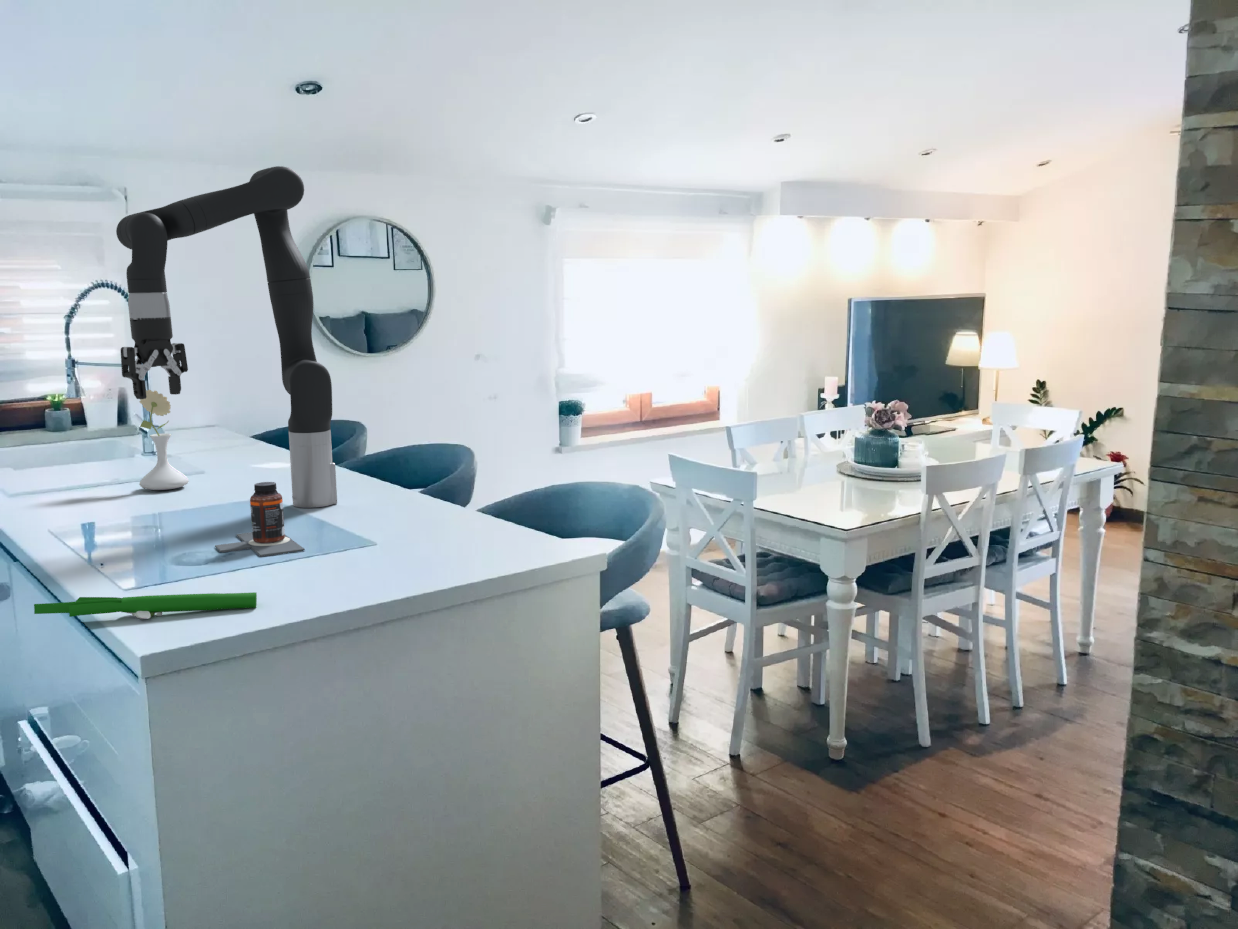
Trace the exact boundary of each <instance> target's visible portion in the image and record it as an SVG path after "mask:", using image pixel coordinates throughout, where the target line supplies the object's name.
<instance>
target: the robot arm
mask: <svg viewBox="0 0 1238 929" xmlns="http://www.w3.org/2000/svg"><path fill="white" fill-rule="evenodd" d="M304 194H305V185H304V181H303V179H302V178H301V176H300V174H298V173H297V172H296V171H295V170H294V169H293V168H290V167H287V166H284V165H283V166H282V165H281V166H279V165H278V166H276V165H275V166H271V167H267V168H263V169H260V170H258V171H255V172H254V173H253V174H252V176H251V177H250V179H249V180H248V181H247V182H245V183H242V184H238V185H236V186H232V187H228V188H224V189H220V190H219V189H218V190H216V191H210V192H206V193H201V194H198V195H194V196H190V197H187V198H184V199H181V200H178V201H174V202H172V203H170V204H167V205H165V206H164V205H163V206H161V207H158V208H153V209H149V210H145V211H141V212H137V213H136V212H135V213H133V214H129V215H127V216H126V215H125V217H123V218H121V219H120V221H119V222H118V224H117V226H116V230H115V231H116V237H117V240H118V241H119V242H120V244H122V246H124V247H125V248H127V249H129V250H131V262H130V264H128V265H127V267H126V281H127V282H126V284H127V293H128V294H127V298H128V302H127V303H128V304H127V305H128V306H127V307H128V314H129V326H130V327H129V328H130V335H131V339H132V340H133V341H134V346H122V347H121V348H120V361H121V362H120V363H121V364H120V365H121V366H120V367H121V377H123V378H125V379H126V378H127V379H129V380H131V381H132V390H133V395H134V397H135V398H136V399H137V400H140V399H146V397H147V396H146V389H147V388H146V380H145V376H146V374H147V372H149V371H150V370H151V368H155V367H160V368H162V369H163V370H165V372H166V373H167V374H168V376H167V378H168V379H167V380H168V389H169V393H170V395H180V394H181V391H182V384H181V375H182V374H183V373H187V372H188V370H189V366H188V360H187V353H186V347H185V344H184V343H181V342H173V343H171V340H172V338H174V335H173V325H172V317H171V316H172V315H171V306H170V302H169V301H170V300H169V296H168V290H167V281H166V280H167V279H166V273H165V268H166V263H167V262H166V261H167V254H168V241H171V240H173V239H182V238H187V237H190V236H193V235H196V234H200V233H202V232H205V231H209V230H212V229H214V228H216V227H219V226H222V225H224V224H228V223H230V222H233V221H235V220H237V219H240V218H244V217H247V216H249V215H250V216H251V215H253V216H254V219H255V222H256V227H257V229H258V233H259V234H258V235H259V238H260V243H261V251H262V257H263V261H264V262H263V263H264V268H265V274H266V282H267V287H268V293H269V299H270V304H271V309H272V314H273V318H274V319H273V320H274V323H275V328H276V332H277V336H278V340H279V348H280V349H279V351H280V362H281V363H280V364H281V379H282V380H281V381H282V385H283V387H284V389H285V391H286V392H287V393H288V395H290V415H289V418H288V422H287V426H288V427H287V428H288V444H289V457H290V458H289V460H290V461H289V462H290V477H291V479H290V480H291V493H292V494H291V496H292V497H291V498H292V505H293V506H294V507H295V508H304V509H305V508H308V509H309V508H311V509H312V508H321V507H328V506H331V505H336V504H338V494H337V492H338V489H337V475H336V474H337V471H336V463H335V462H333V452H332V451H333V448H332V432H331V430H332V429H331V427H332V426H331V422H332V418H333V387H332V386H333V384H332V377H331V374H330V372H329V370H328V368H326V366H325V365H323V364H322V363H320V362H318V361H317V358H316V352H315V347H314V343H313V335H312V331H313V330H312V327H313V318H314V294H313V287H312V281H311V276H310V271H309V268H308V265H307V263H306V260H305V259H304V257H303V255H302V253H301V251H300V250H299V247H297V244H296V243H295V240H294V238H293V235H292V232H291V226H290V222H289V221H290V220H289V212H288V210H291V209H292V208H295V207H296V206H298V205H299V203H300V202H301V201H302V199H303V197H304Z"/></svg>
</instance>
